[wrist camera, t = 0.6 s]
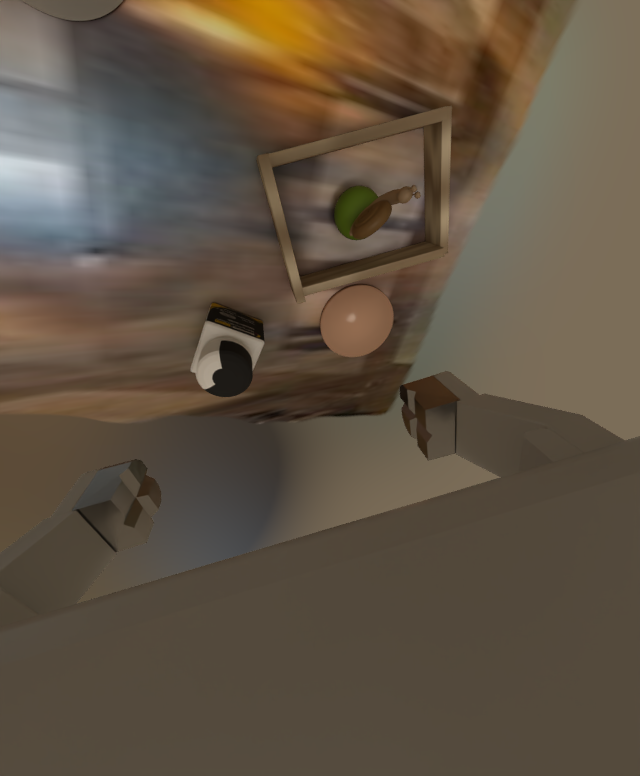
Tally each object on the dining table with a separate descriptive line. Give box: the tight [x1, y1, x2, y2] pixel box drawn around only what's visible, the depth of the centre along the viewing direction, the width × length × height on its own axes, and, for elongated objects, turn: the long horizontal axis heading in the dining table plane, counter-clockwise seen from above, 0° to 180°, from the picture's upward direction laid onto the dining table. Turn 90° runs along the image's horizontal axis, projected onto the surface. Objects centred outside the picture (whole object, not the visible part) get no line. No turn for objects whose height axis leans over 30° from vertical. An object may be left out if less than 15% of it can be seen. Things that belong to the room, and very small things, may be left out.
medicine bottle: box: [190, 303, 264, 397], centre depth 38 cm, size 7×7×12 cm
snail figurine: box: [334, 185, 421, 240], centre depth 33 cm, size 5×6×12 cm
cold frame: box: [256, 106, 452, 304], centre depth 35 cm, size 14×20×7 cm
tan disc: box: [320, 284, 393, 357], centre depth 45 cm, size 11×11×1 cm
